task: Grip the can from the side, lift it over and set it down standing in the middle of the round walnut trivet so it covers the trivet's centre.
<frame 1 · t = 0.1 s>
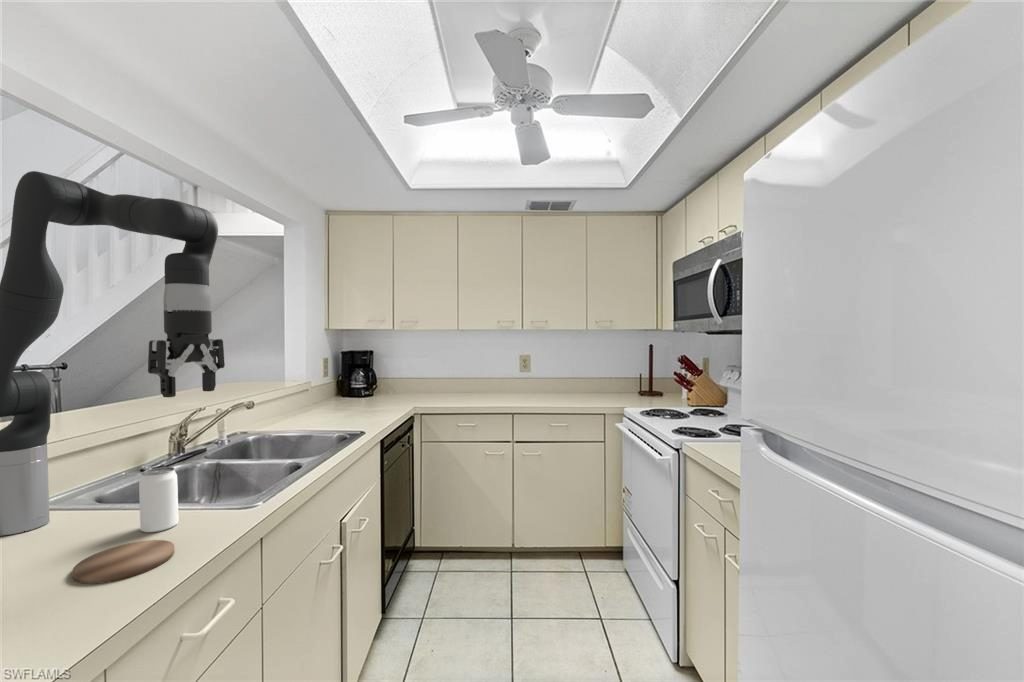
hand: (189, 394, 90), 29 cm above the worktop, tool pointing down, fingers open, 8 cm apart
can: (159, 528, 100), on the worktop
trivet: (126, 562, 84), on the worktop
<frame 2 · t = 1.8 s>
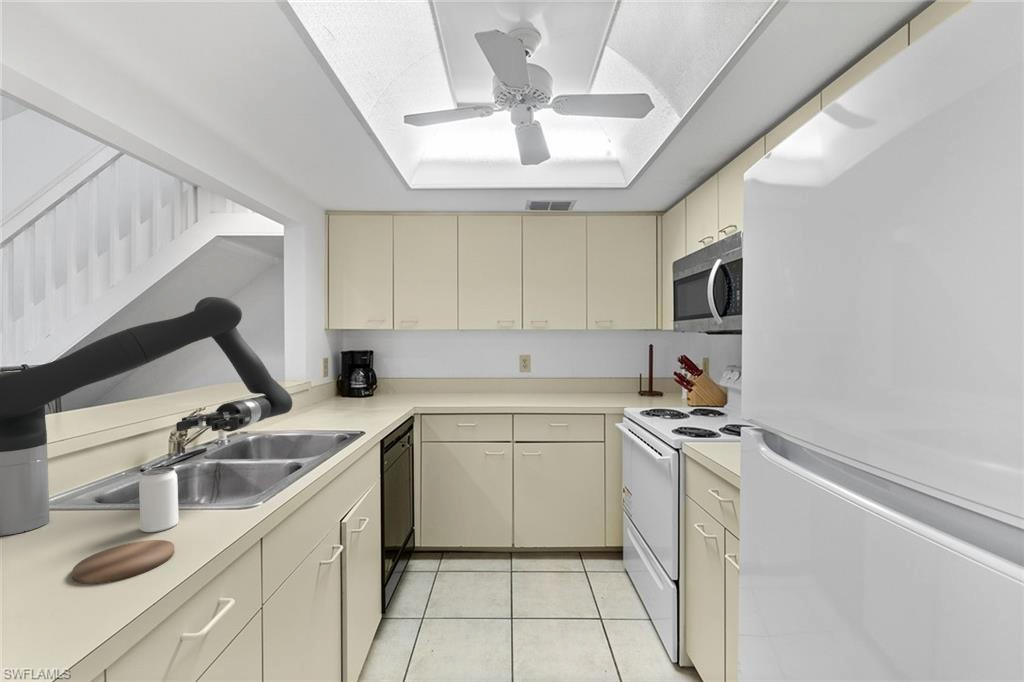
hand: (195, 426, 110), 19 cm above the worktop, tool horizontal, fingers open, 8 cm apart
nothing on the worktop moved.
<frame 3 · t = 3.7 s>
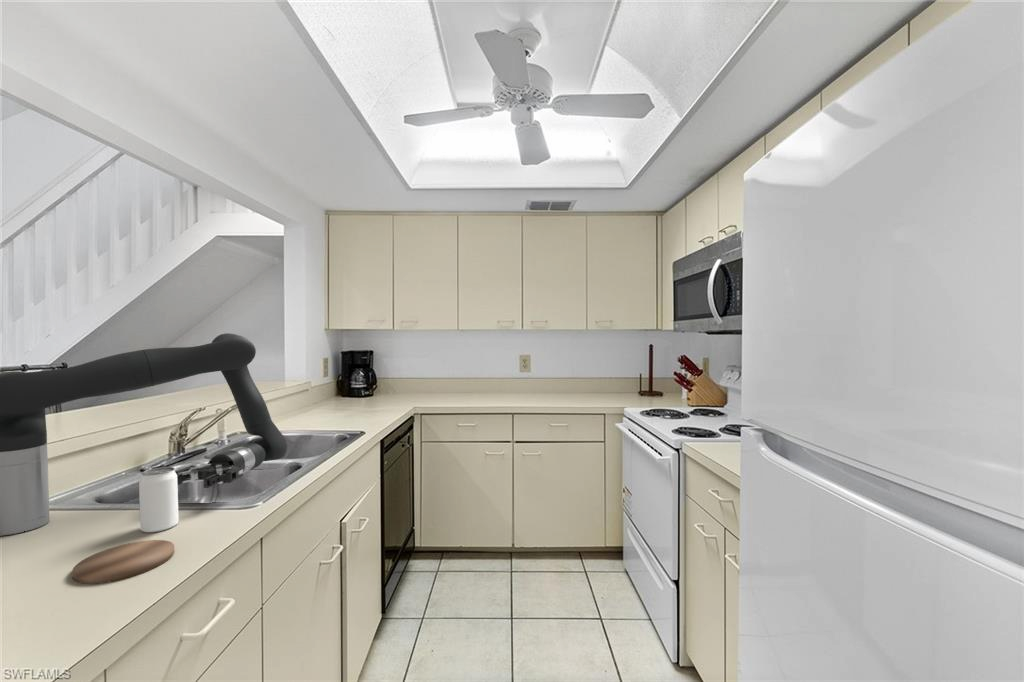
hand: (187, 483, 108), 7 cm above the worktop, tool horizontal, fingers open, 8 cm apart
nothing on the worktop moved.
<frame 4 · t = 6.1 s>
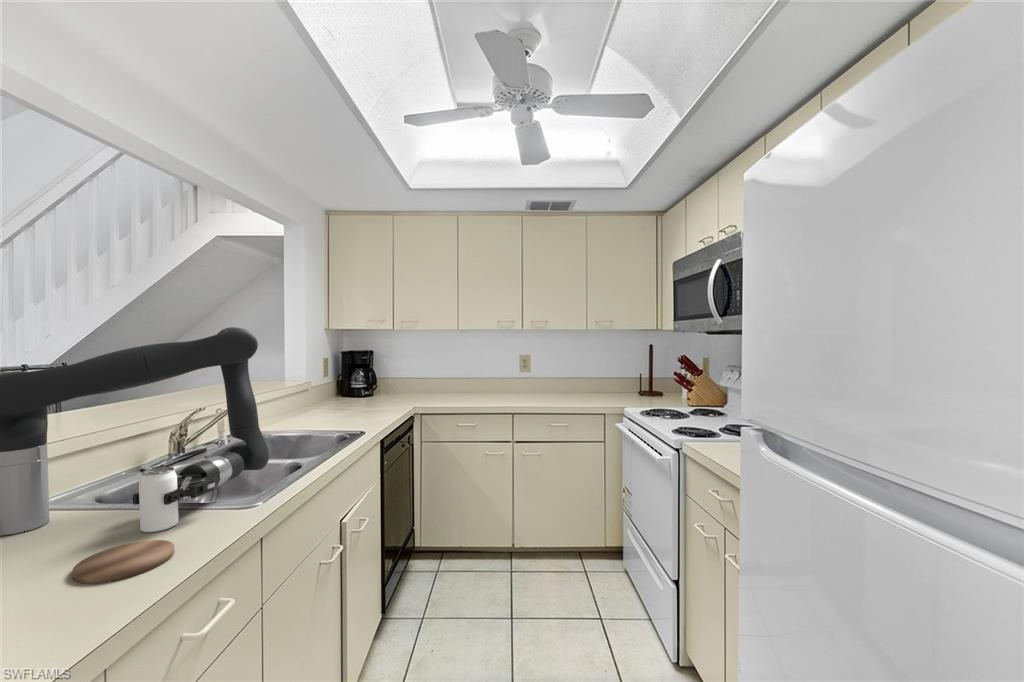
hand: (150, 499, 97), 7 cm above the worktop, tool horizontal, fingers closed on can, 6 cm apart
can: (159, 528, 100), on the worktop, touching gripper
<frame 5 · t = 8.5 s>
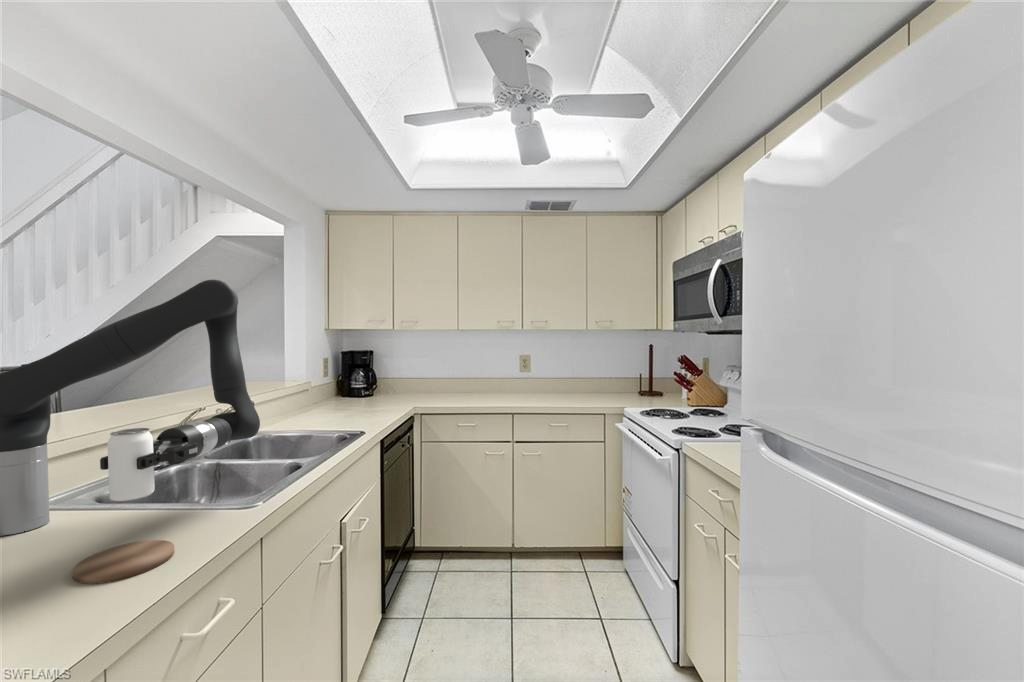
hand: (120, 464, 84), 18 cm above the worktop, tool horizontal, fingers closed on can, 6 cm apart
can: (132, 497, 86), point 11 cm above the worktop, touching gripper
when the fingers open (9 cm above the worktop, at t = 10.9 s): can drops 1 cm, resting on trivet.
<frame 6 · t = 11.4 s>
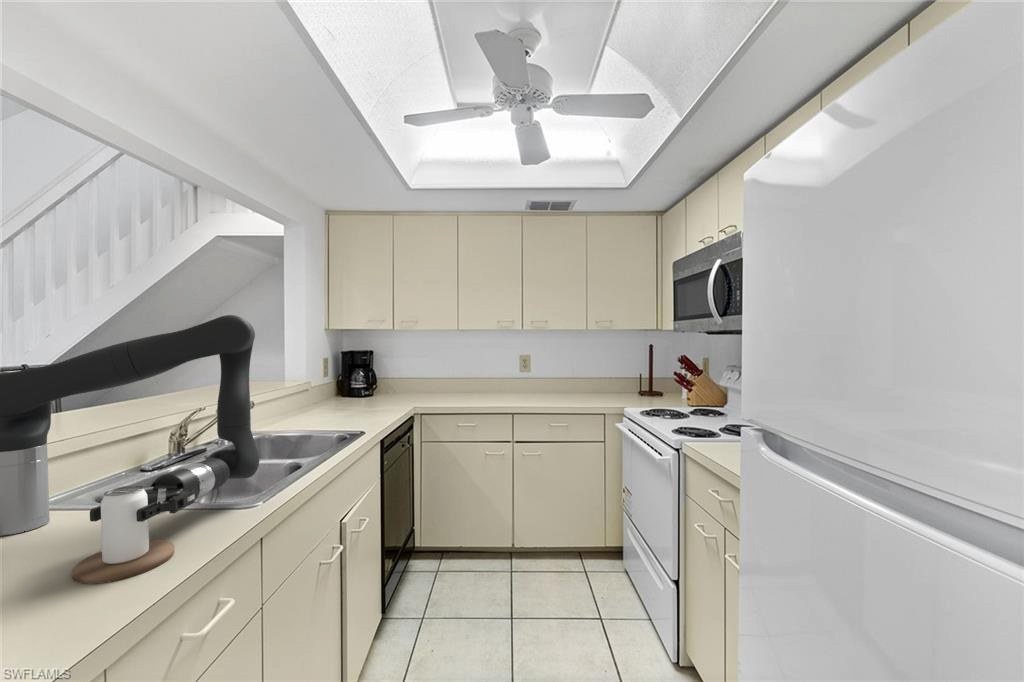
hand: (115, 516, 82), 9 cm above the worktop, tool horizontal, fingers open, 8 cm apart
can: (126, 557, 84), point 1 cm above the worktop, touching trivet
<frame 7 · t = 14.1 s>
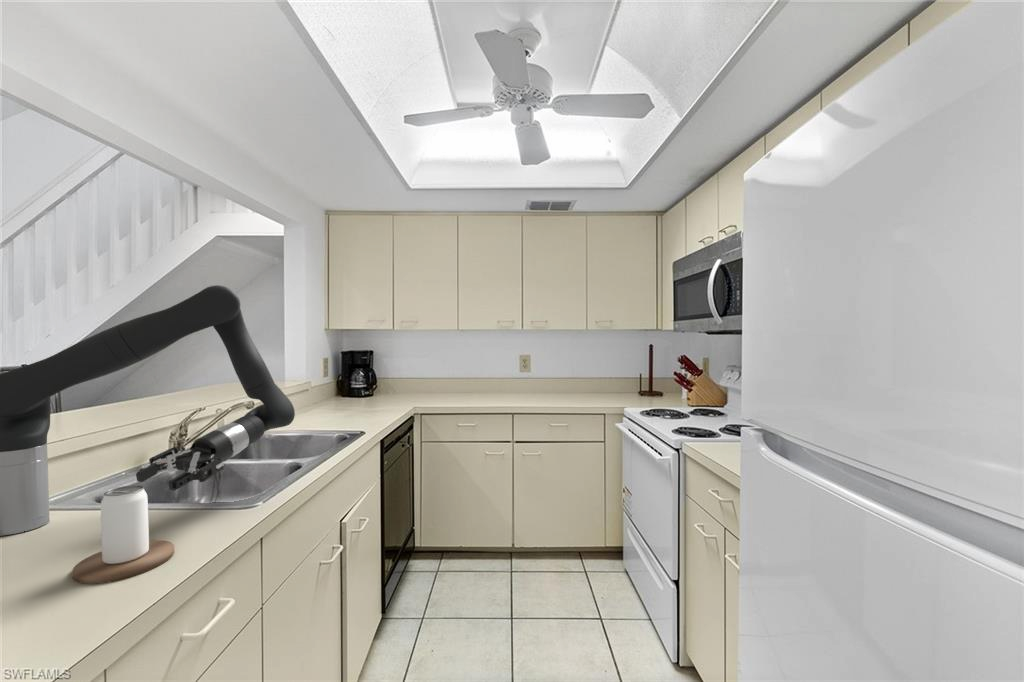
hand: (154, 482, 95), 11 cm above the worktop, tool horizontal, fingers open, 8 cm apart
nothing on the worktop moved.
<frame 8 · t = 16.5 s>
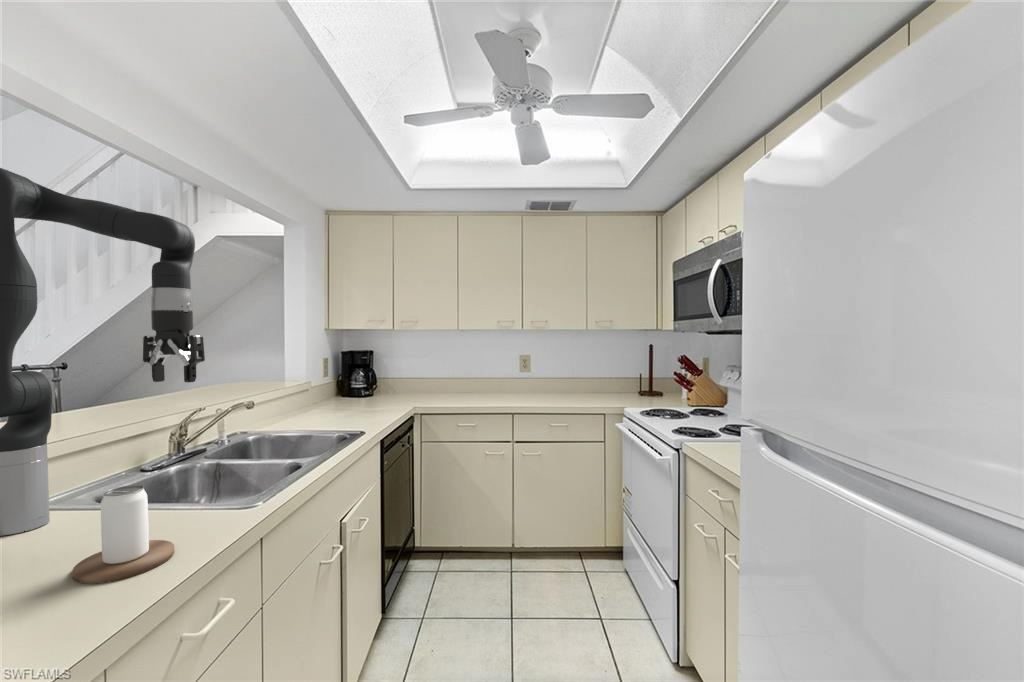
hand: (174, 381, 105), 30 cm above the worktop, tool pointing down, fingers open, 8 cm apart
nothing on the worktop moved.
at the end: can 0.2 cm off-centre on the trivet, point 0.8 cm above the trivet's base; can tilted 0°; the gripper is holding nothing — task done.
